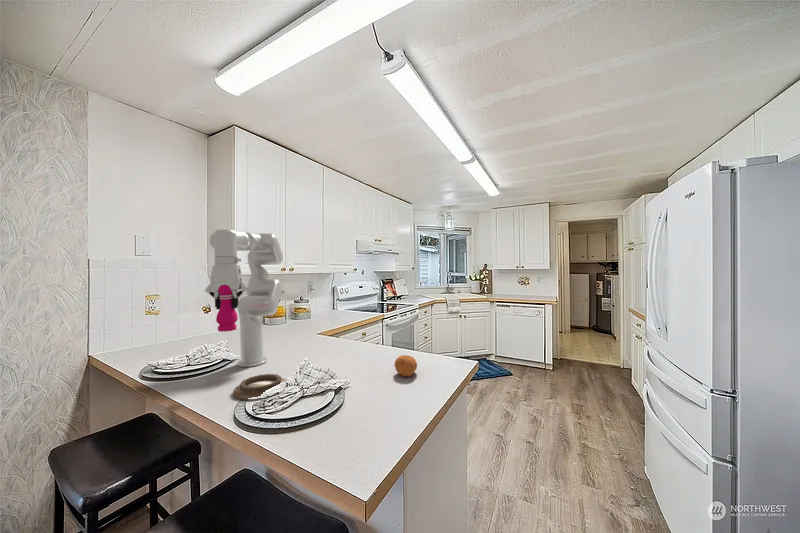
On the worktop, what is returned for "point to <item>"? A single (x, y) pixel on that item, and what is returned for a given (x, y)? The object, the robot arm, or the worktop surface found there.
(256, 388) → the round tray
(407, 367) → the potato
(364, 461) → the worktop surface
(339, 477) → the worktop surface
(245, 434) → the worktop surface
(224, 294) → the pepper mill
